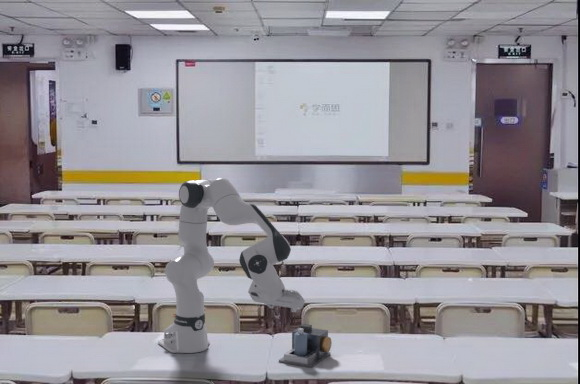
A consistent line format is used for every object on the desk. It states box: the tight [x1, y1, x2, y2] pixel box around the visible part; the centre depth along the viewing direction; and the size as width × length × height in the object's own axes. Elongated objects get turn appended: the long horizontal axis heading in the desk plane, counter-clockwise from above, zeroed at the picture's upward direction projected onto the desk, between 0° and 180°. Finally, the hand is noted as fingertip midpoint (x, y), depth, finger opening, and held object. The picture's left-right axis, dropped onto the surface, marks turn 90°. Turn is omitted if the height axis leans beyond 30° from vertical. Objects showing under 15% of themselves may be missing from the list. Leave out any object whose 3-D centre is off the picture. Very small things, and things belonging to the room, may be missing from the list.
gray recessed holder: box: [278, 323, 332, 368], centre depth 293 cm, size 15×18×12 cm
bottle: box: [294, 327, 307, 357], centre depth 289 cm, size 5×5×12 cm
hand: (283, 308), depth 276 cm, fingers open, 8 cm apart
